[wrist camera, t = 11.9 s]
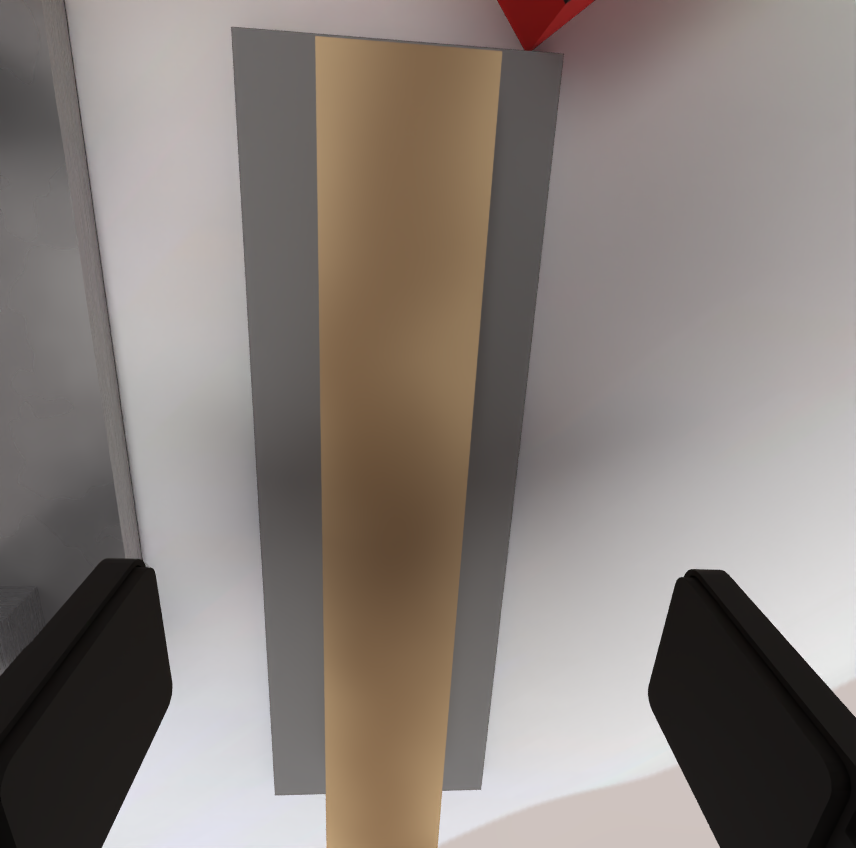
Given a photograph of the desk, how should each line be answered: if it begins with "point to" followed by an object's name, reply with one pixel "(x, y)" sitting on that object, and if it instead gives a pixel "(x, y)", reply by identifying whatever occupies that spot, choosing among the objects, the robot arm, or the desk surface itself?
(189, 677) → the desk surface
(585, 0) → the puzzle toy
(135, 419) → the desk surface
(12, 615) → the rack
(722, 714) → the robot arm
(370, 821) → the rail
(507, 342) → the mat
